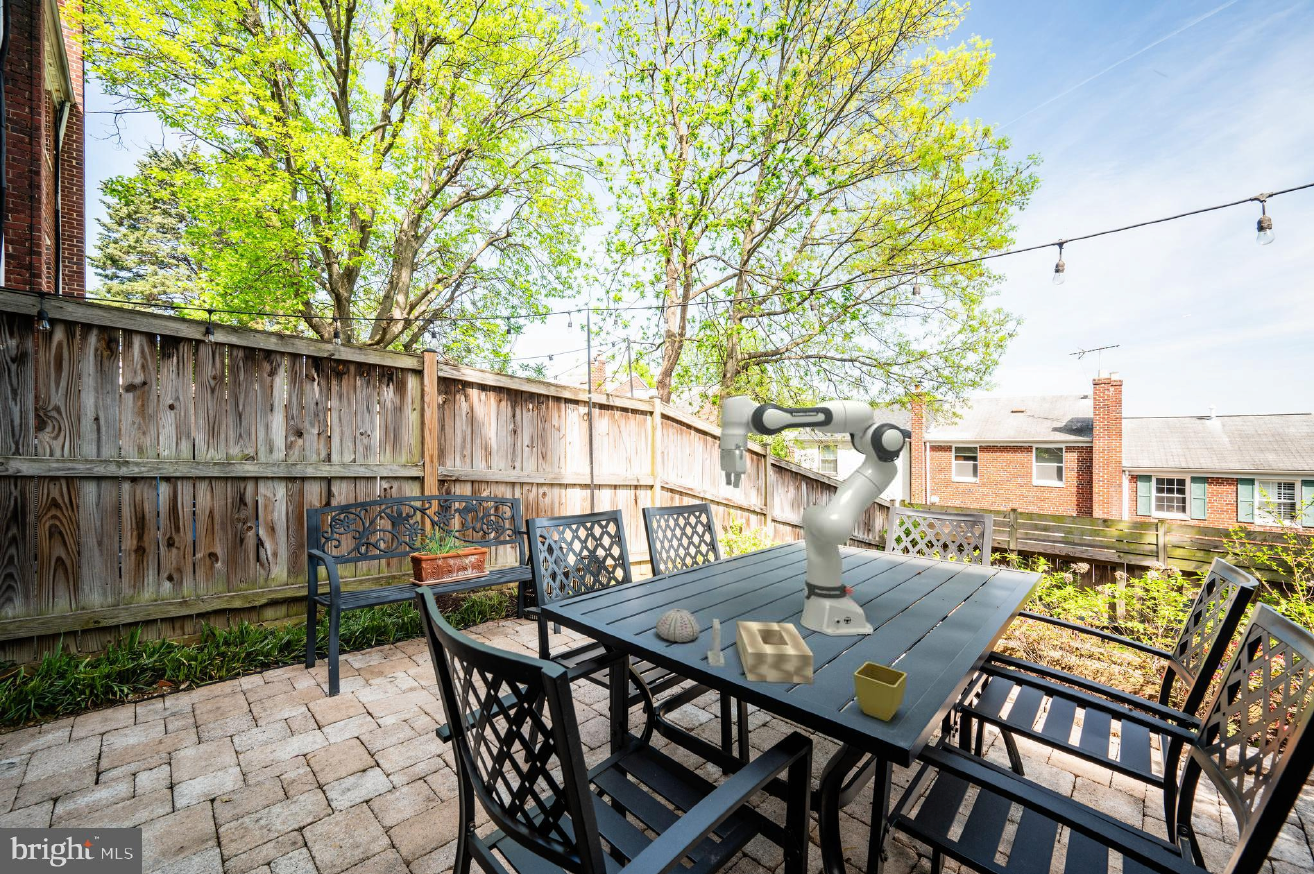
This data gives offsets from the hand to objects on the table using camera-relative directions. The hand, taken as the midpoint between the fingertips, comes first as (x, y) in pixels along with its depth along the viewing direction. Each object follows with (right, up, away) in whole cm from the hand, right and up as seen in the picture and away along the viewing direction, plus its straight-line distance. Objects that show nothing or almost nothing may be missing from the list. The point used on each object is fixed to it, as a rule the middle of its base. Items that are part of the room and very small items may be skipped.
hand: (732, 486), depth 164 cm
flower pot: (+25, -45, -53) cm, 74 cm away
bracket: (-9, -44, -28) cm, 53 cm away
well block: (+6, -45, -29) cm, 53 cm away
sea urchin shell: (-18, -45, -12) cm, 50 cm away
